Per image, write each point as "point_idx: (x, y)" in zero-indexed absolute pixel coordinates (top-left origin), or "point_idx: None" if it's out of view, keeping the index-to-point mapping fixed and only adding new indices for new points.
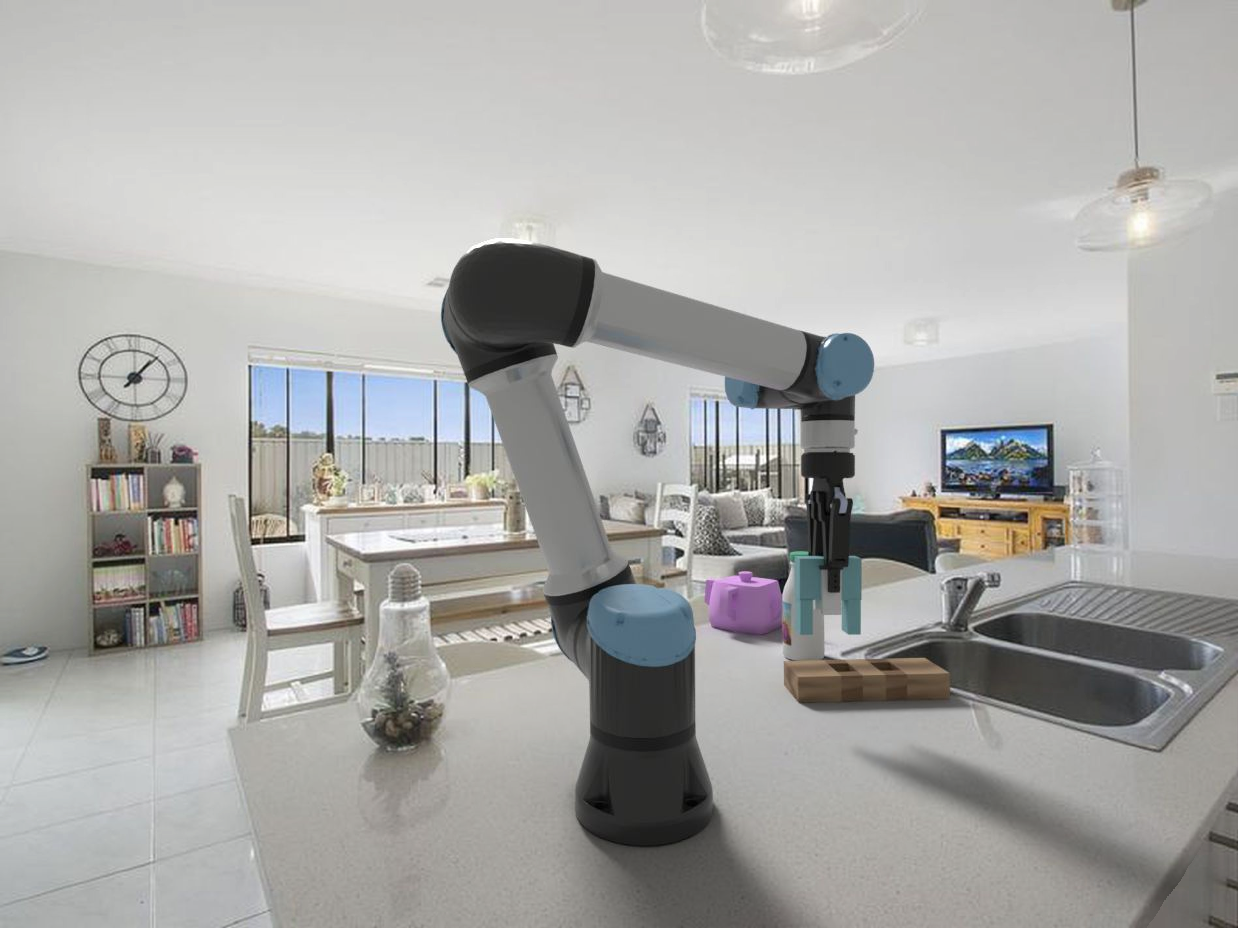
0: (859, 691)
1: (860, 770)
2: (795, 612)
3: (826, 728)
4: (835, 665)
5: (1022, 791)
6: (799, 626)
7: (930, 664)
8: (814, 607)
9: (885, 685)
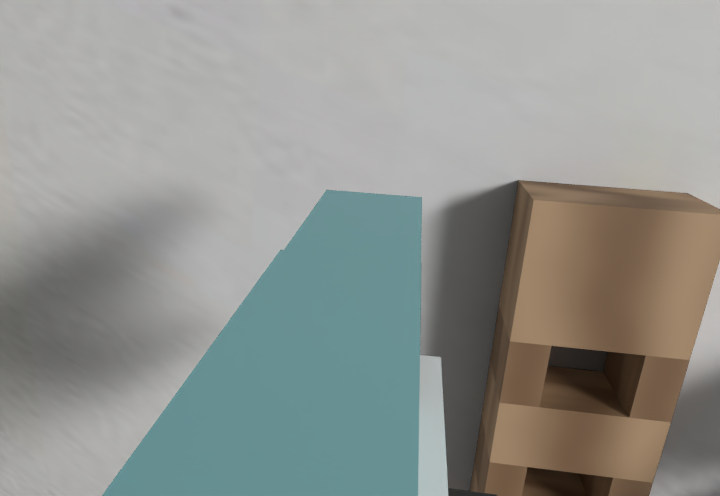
0: (494, 365)
1: (97, 164)
2: (410, 227)
3: (322, 184)
4: (636, 375)
5: (38, 404)
6: (337, 202)
7: None
8: (421, 360)
9: (486, 439)
